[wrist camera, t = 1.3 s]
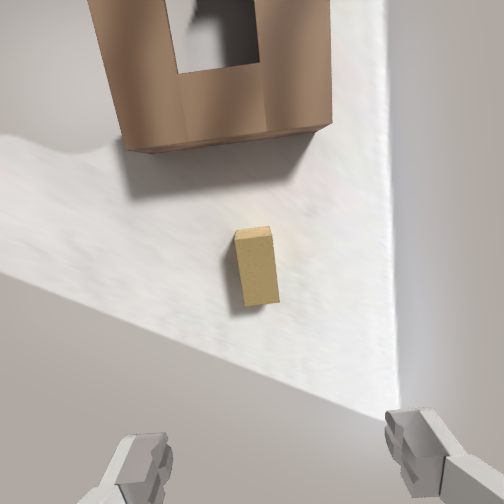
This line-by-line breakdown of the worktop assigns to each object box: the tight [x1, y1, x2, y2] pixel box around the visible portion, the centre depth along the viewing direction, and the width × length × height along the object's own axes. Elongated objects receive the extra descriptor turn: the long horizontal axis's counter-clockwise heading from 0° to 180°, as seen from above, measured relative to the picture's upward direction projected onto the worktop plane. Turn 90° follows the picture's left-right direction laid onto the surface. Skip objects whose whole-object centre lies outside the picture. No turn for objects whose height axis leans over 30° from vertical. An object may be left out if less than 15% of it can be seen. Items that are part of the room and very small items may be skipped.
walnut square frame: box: [87, 0, 332, 154], centre depth 19 cm, size 16×18×5 cm
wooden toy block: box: [234, 226, 280, 307], centre depth 26 cm, size 4×7×4 cm, turn 8°
